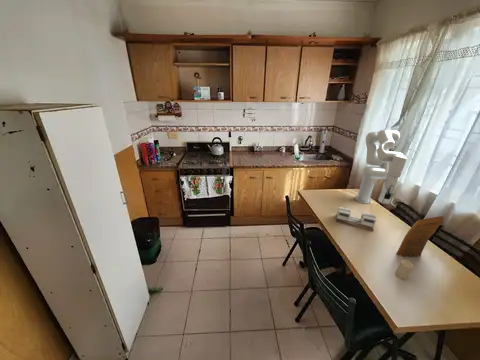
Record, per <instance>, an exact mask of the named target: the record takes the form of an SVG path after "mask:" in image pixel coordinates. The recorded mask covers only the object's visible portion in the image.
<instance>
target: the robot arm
mask: <svg viewBox="0 0 480 360" xmlns="http://www.w3.org/2000/svg"><path fill="white" fill-rule="evenodd" d="M400 137H401V135H400V131H398V130H395V129H393V130H392V129H381V130H379V131H371V132H368V133H367V135H366V137H365V145H366V162H365V163H366V164H367V165H370V166H366V167H364V168H363V172H362V179H361V181H360V186H359V189H358V192H357V193H358V194H357V195H356V196H354V200H355V201H357V202H358V203H360V204H366V205H367V204H370V203H371V202H372V201H371V196H372V193H373V189H374V186H375V181H374V179H377V180H378V179H380V180H381V179H382V180H384V182H385V183H386V184H385V189H386V190H387V193H386V194H385V197H384V199H390V197H391V194H392V191H393V190H394V189H395V186H397V183H398V180H399V178H401V175H402V173H403V170H404V169H405V165H406V162H407V159H408V158H407V156H405V155H404V154H403V153H402V152H400V151H389V150H390V149H392V148H393V147H394V146H395V143H396V142H397V141H399V139H400ZM376 143H377V144H378V143H379V146H378V145H377V144H376ZM389 163H390V165H389ZM389 188H390V190H389ZM388 190H389V192H388Z"/></svg>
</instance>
